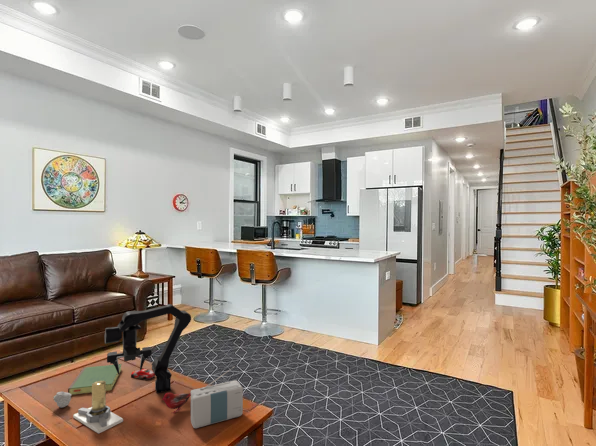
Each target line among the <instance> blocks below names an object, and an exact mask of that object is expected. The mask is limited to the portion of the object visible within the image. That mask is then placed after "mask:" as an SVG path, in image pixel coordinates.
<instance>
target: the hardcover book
mask: <svg viewBox="0 0 596 446" xmlns="http://www.w3.org/2000/svg"><path fill="white" fill-rule="evenodd" d="M118 364H119V363H118ZM122 365H123V364H122V363H120V364H119V374H120V373H121V372H122ZM118 378H119V375H118V373H117V370H116V368H115V366H114V365H113V364H107V365H97V366H87V367H83V368H82V369H81V371H80V372H79V373H78V375H77V376H76V377H75V378H74V380H73V381H72V383H71V384H70V386H69V387H68V388H67V393H70V394H71V396H72V395H82V394H89V393H91V394H92V384H93V383H94V382H97V381H105V382H106V392H109V391H112V389H113V388H114V385H115V383H116V382H117V380H118Z"/></svg>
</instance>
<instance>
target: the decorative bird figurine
mask: <svg viewBox="0 0 596 446" xmlns="http://www.w3.org/2000/svg"><path fill="white" fill-rule="evenodd" d="M189 398H191V392H190V393H175V394H174V393H173V392H166V393H165V394H164V396H163V398H162V399H161V401H163V402H164V403H165V405H166V407H167V408H168V409H171V410H174V411H173V412H171V414H176V413H177V412H179V411H180V410H182V408H181V407H182V406H183V405H184V404H185V403H187V402H188V400H189Z"/></svg>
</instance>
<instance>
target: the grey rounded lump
mask: <svg viewBox="0 0 596 446" xmlns="http://www.w3.org/2000/svg"><path fill="white" fill-rule="evenodd" d="M55 394H56V395H54V396H53V401H54V403H56V406H57V407H59V408H60V409H61V408H65V407H67V406H68V405H69V404H70V402H71V400H72V395H71V394H70V393H68V391H67V392H65V391H58V392H56V393H55Z"/></svg>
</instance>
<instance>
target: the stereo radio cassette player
mask: <svg viewBox="0 0 596 446" xmlns="http://www.w3.org/2000/svg"><path fill="white" fill-rule="evenodd" d="M235 367H236V366H234V365H233V367H232V368H230V369H229V370H227V371H225V372H224V373H223V374H221V375H220V376H218V377H217V378H215V379H214V380H213V381H212V382H210V383H209V384H207V385H206V386H204V387H200V388H195V389H191V390H190V393H191V396H190V423H191V425H192V427H193V428H194V429H198V428H203V427H205V426H209V425H213V424H216V423H220V422H223V421H228V420H231V419H234V418H239V417H241V416H242V415H243V411H244V410H243V407H244V405H243V404H244V403H243V402H244V401H243V400H244V387H243V386H242V385H241V383H240V382H239V381H238V380H236V379H235V380H231V381H226V382H221V383H217V384H214V383H215V382H216V381H218V380H219V379H220V378H221V377H223V376H225V375H226V374H227V373H228V372H230V371H231V370H232V369H233V368H235Z"/></svg>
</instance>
